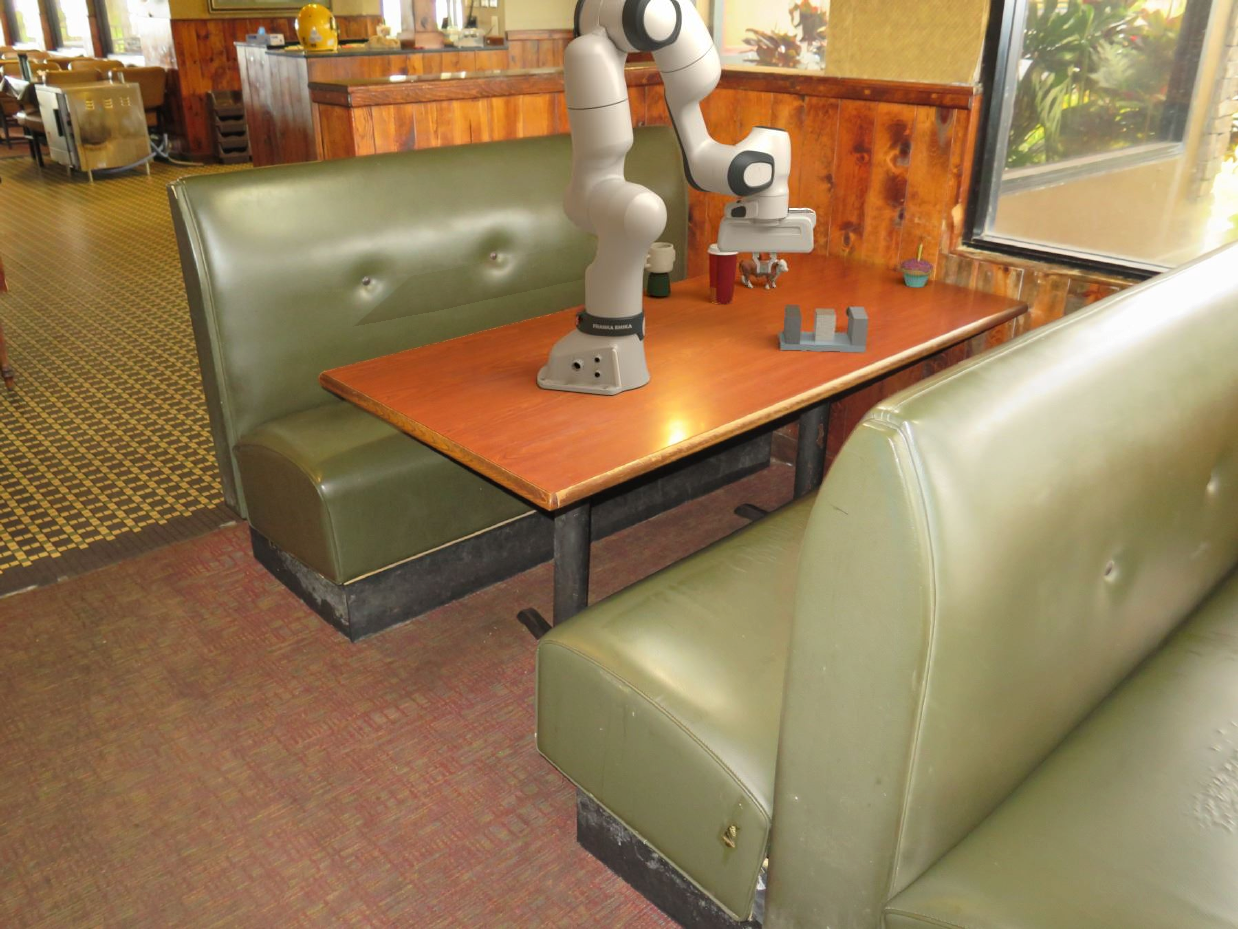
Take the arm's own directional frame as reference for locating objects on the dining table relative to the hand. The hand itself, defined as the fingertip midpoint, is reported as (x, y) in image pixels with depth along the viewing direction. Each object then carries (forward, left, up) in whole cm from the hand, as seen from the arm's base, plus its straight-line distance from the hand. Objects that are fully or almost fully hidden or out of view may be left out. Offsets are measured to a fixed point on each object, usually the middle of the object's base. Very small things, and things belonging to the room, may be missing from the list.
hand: (763, 272), depth 214 cm
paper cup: (-9, +33, -16) cm, 38 cm away
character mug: (-25, +37, -16) cm, 48 cm away
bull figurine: (+2, +47, -16) cm, 50 cm away
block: (+14, 0, -14) cm, 20 cm away
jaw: (+7, 0, -14) cm, 16 cm away
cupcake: (+42, +53, -16) cm, 70 cm away
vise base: (+13, +4, -16) cm, 21 cm away
